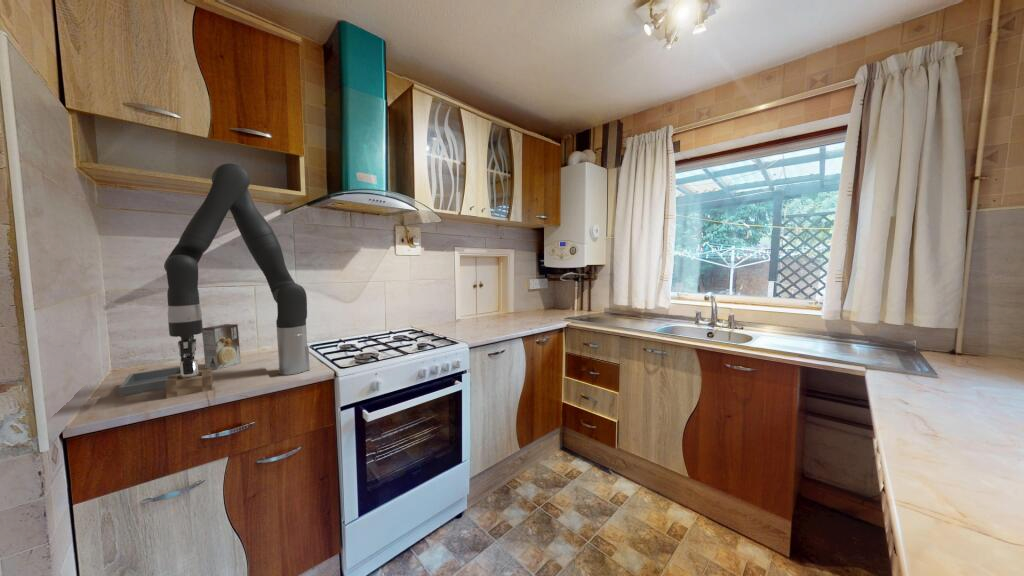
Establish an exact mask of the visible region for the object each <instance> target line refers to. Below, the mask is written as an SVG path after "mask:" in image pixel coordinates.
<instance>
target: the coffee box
mask: <svg viewBox="0 0 1024 576" xmlns="http://www.w3.org/2000/svg"><path fill="white" fill-rule="evenodd" d="M238 326H239V325H238V324H234V323H233V324H232V323H224V324H219V325H214V326H213V325H212V326H207V327H203V332H202V333H201V334H202V342H203V343H202V344H203V346H202V347H203V355H204V365H205V366H204V369H206V368H207V369H211V368H212V370H217V369H218V370H221V368H222V369H224V367H225V368H228V367H231V366H234V364H235V365H238V364H241V363H242V360H241V351H240V350H241V349H240V348H241V347H240V339H239V337H240V336H239V327H238Z"/></svg>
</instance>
